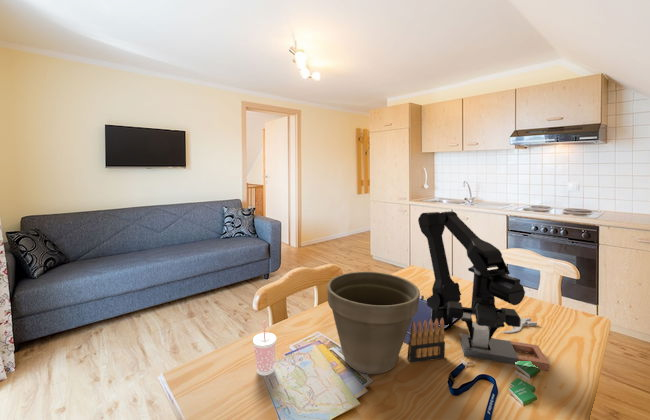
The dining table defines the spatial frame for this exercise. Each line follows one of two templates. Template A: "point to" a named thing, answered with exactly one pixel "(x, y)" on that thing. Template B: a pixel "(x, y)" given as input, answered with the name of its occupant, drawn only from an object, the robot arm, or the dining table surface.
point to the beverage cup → (264, 352)
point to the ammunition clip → (426, 342)
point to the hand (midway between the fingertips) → (479, 340)
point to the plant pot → (372, 317)
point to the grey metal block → (480, 336)
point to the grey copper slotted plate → (505, 352)
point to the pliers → (522, 325)
